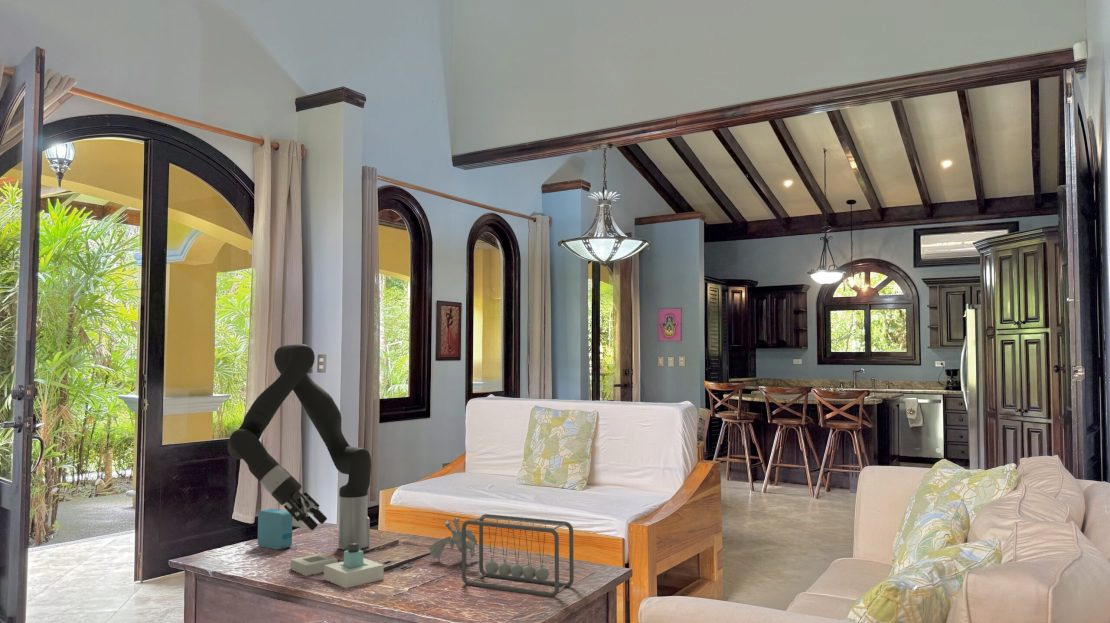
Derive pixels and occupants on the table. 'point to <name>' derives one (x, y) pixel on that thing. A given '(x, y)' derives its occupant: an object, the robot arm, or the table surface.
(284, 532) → the data package
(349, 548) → the plug
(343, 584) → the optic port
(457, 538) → the fairy figurine
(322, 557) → the holster
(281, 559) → the table surface
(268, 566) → the table surface
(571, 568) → the newton's cradle
